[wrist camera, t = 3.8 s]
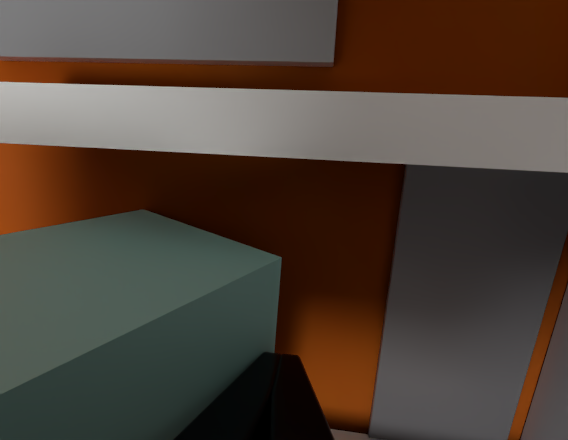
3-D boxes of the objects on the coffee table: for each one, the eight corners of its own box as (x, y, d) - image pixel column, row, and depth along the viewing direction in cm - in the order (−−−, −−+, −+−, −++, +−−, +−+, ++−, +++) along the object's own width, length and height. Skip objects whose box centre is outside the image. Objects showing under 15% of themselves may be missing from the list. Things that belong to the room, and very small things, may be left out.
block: (282, 257, 7) (-676, 723, 1) (267, 438, 8) (-236, 1030, 3) (143, 209, 10) (-374, 302, 4) (150, 352, 11) (-228, 568, 5)
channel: (680, 113, 7) (1186, 92, 3) (547, 491, 10) (700, 746, 6) (56, 93, 9) (-189, 62, 5) (103, 421, 12) (-21, 580, 8)
